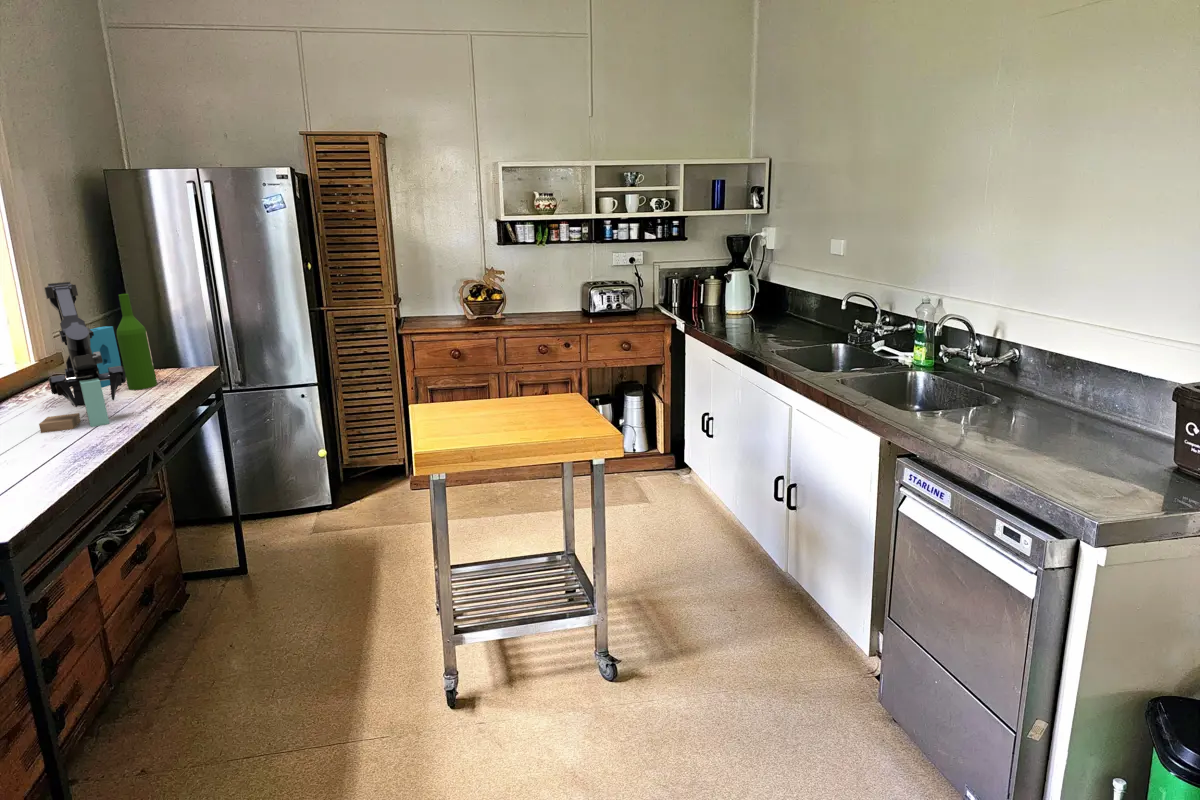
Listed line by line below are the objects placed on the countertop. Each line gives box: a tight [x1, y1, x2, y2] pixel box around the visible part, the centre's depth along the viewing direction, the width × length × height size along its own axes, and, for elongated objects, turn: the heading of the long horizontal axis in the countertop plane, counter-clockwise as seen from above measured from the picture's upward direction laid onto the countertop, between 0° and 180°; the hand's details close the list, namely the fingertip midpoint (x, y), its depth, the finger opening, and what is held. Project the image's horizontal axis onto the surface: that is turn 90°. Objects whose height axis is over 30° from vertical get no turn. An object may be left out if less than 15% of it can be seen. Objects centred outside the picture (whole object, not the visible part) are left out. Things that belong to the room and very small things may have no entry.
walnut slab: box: [38, 412, 82, 434], centre depth 224 cm, size 8×8×3 cm
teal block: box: [80, 378, 110, 428], centre depth 224 cm, size 5×5×13 cm
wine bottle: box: [116, 293, 158, 391], centre depth 266 cm, size 9×9×32 cm
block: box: [89, 325, 122, 388], centre depth 274 cm, size 12×5×20 cm, turn 164°
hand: (95, 402), depth 223 cm, fingers open, 9 cm apart
